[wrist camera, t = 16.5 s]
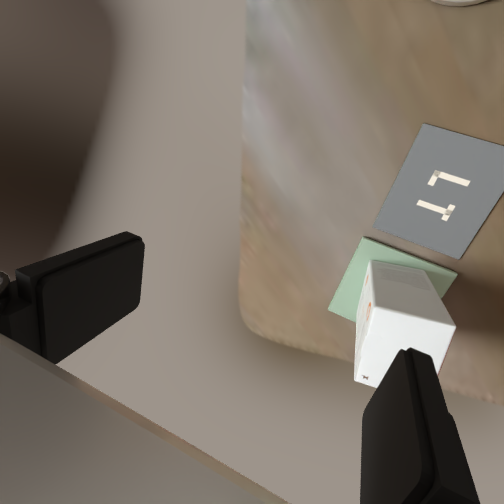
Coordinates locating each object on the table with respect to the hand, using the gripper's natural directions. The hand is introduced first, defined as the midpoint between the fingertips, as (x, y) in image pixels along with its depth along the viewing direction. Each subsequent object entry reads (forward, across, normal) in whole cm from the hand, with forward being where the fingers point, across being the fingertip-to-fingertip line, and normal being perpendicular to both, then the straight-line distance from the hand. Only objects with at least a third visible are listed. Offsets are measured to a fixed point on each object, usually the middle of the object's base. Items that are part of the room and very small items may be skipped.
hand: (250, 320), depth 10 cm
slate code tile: (+30, -11, -3) cm, 32 cm away
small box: (+29, -10, +9) cm, 32 cm away
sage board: (+29, -10, +10) cm, 32 cm away
